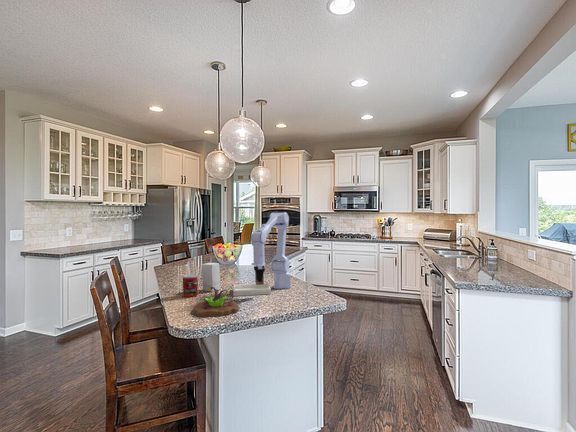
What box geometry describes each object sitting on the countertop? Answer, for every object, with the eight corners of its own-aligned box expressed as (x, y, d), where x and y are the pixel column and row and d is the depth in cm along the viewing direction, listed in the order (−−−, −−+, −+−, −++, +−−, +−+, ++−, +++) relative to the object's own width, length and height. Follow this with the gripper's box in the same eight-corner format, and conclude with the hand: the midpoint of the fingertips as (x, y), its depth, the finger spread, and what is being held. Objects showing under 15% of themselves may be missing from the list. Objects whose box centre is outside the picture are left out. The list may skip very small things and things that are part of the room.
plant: (192, 307, 149) (192, 283, 149) (233, 302, 156) (233, 280, 156) (194, 320, 130) (193, 293, 130) (240, 314, 137) (240, 289, 137)
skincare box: (220, 289, 181) (220, 263, 181) (212, 292, 175) (211, 264, 175) (210, 288, 185) (209, 262, 185) (201, 290, 180) (201, 263, 180)
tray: (268, 287, 183) (268, 283, 183) (270, 293, 170) (270, 288, 170) (234, 289, 180) (233, 285, 180) (233, 296, 167) (233, 290, 167)
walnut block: (263, 282, 166) (262, 271, 166) (263, 284, 162) (263, 272, 162) (255, 283, 165) (255, 271, 165) (255, 284, 162) (255, 273, 161)
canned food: (182, 298, 164) (182, 277, 164) (183, 294, 172) (183, 274, 172) (197, 297, 166) (197, 276, 166) (198, 293, 174) (197, 273, 174)
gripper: (250, 253, 170) (251, 278, 170) (251, 257, 156) (252, 284, 156) (263, 252, 171) (264, 277, 171) (265, 256, 157) (266, 283, 157)
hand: (259, 280), depth 164 cm, fingers closed on walnut block, 4 cm apart
